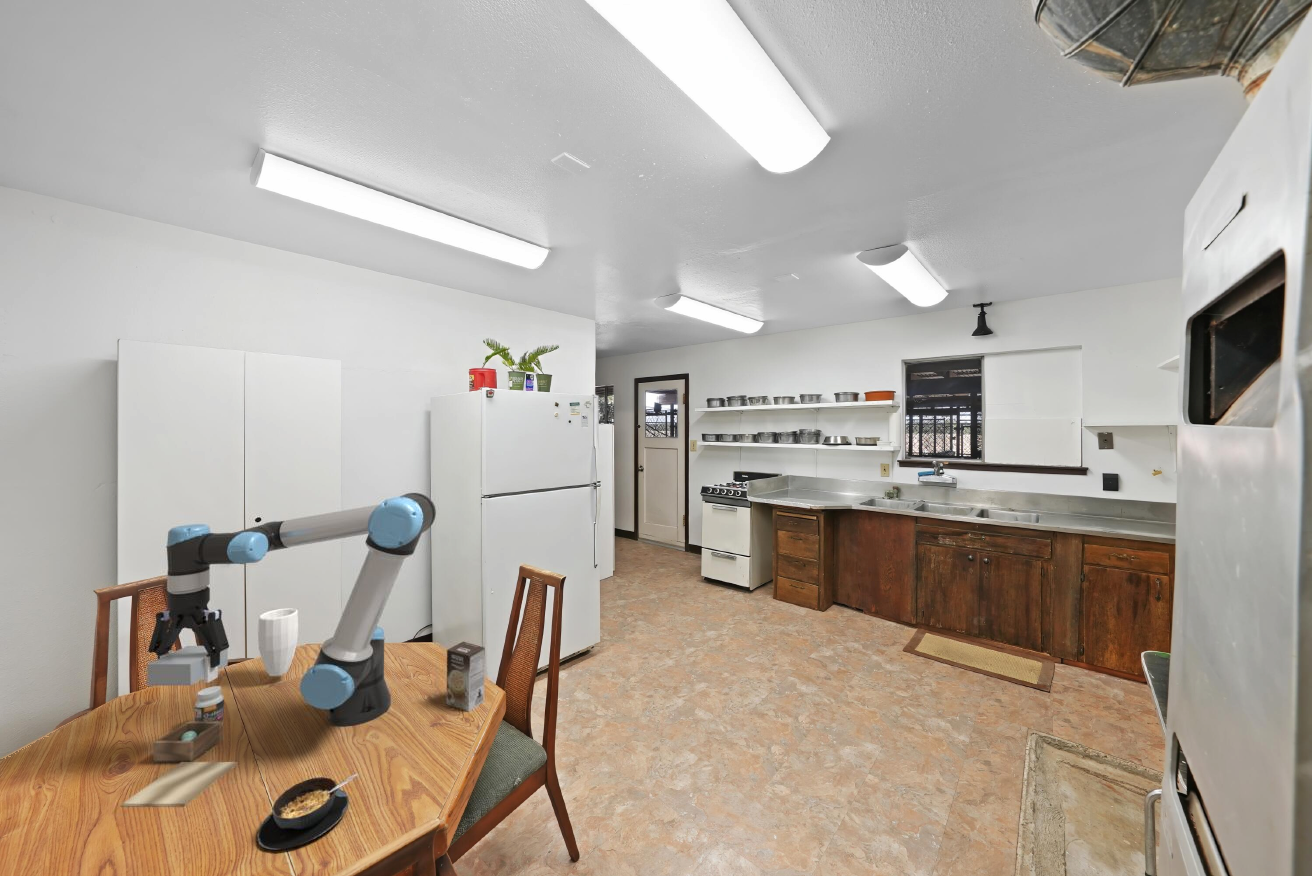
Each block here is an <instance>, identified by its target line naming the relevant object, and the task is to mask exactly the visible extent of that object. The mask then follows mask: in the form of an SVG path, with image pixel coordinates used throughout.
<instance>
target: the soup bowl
mask: <svg viewBox="0 0 1312 876" xmlns="http://www.w3.org/2000/svg"><path fill="white" fill-rule="evenodd" d="M357 776H359V774H358V773H355V774H353V775H351V776H350V777H348V778H347V779H345V780H343V781H342V782H340V783H339V784H337V782H336V781H335V780H333V779H332V778H329V777H323V776H320V777H312V778H308V779H306V780H303V781H300V782H299V783H296V784H294V785H293V786H291V787H290V788H288V789H286V790H285V791H284V792H283V793H282V794H281V795H280V796H278V798H277V799H276V800H275V802H274V804H273V805H272V810H271V813H270V814H268V815H267V817H266V818H265V819H264V820H263V821H262V823H261V824H260V826H259V828H258V831H257V835H256V840H257V843H258V845H259V846H260V847H261V848H263V849H266V850H268V849H269V850H282V849H288V848H289V849H291V848H293V847H297V846H301V845H303V844H306V843H308V842H310V841H312V840H315V839H317V838H318V837H320V836H322V835H324V834H325V833H327V832H328V831H330V830H331V829H332V828H334V826H336V825H337V823H339V821H341V819H342V818H343V817H344V816H345V814H346V812H347V810H348V808H349V803H350V798H349V795H348V793H346V791H345V790H343V789H340V788H342V787H343V786H344V785H346V784H347V783H349V782H351V781H352V780H353V779H355V778H357Z"/></svg>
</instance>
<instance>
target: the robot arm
mask: <svg viewBox="0 0 1312 876" xmlns="http://www.w3.org/2000/svg"><path fill="white" fill-rule="evenodd" d="M436 515H437V510H436V506H435V504H434V502H433V500H432V499H431V498H430V497H428V496H427V495H425V494H423V493H419V492H407V493H405V494H403V495H400V496H394V497H391V498H388V499H385V500H383V501H382V502H381V503H380V504H375V505H368V506H362V507H357V508H351V509H345V510H340V511H333V512H328V513H322V514H321V513H320V514H316V515H309V516H304V517H297V518H292V519H286V520H280V521H279V520H275V521H274V520H273V521H268V522H266V523H263V524H260V525H257V526H253V527H249V528H245V529H243V530H238V531H234V532H221V533H220V532H218V533H217V532H215V533H214V532H211V528H210V526H209V525H208V524H203V523H199V524H197V523H194V524H184V525H179V526H174V527H172V528H170V529H169V530H168V533H167V543H166V546H165V547H166V554H167V556H166V557H167V559H166V560H167V575H166V576H167V584H166V586H167V587H166V591H167V592H169V593H167V598H166V599H167V601H166V604H167V605H166V606H167V609H165V610H162V611H159V612H157V613H156V614H155V622H156V623H155V625H154V629H153V632H152V636H151V639H150V643H149V646H148V649H147V650H148V653H151V654H152V653H154V654H155V655H156V656H157V660H158V659H160V658H162V657H165V656H167V655H169V654H171V653H173V652H175V651H174V648H173V645H175V642H176V641H177V639H178V637H179V635H180V634H181V632H182V631H183V629H188V630H192V632H193V633H196V635H197V637H198V639H199V640H200V642H201V644H202V646H204V647H205V649H206V651H207V653H208V655H206V656H205V678H204V684H208V683H210V682H212V681H214V680H215V679H217V678H218V677H219V676H218V675H219V674H218V672H219V670H218V665H220V652H221V651H223V650H225V649H227V648H230V643H229V640H228V638H227V637H228V636H227V633H226V630H225V627H224V624H223V623H224V622H223V621H222V615H223V614H222V613H223V611H222V609H220V608H219V609H216V610H210V609H209V606H208V604H209V602H210V600H211V588H210V587H209V585H210V584H211V583H210V575H211V574H210V573H211V572H210V565H246V564H251V563H252V564H253V563H257V562H260V561H261V560H263V557H265V556H266V554H267V553H269V552H273V551H278V550H279V551H280V550H284V549H289V548H294V547H299V546H305V545H311V544H315V543H322V542H327V541H328V542H329V541H333V540H339V539H345V538H351V537H356V536H363V535H367V536H366V539H365V545H366V547H367V548H368V551H367V555H366V557H365V559H364V562H363V564H362V565H361V568H360V570H359V574H358V576H357V578H356V580H355V582H354V586H353V587H352V590H351V593H350V595H349V597H348V600H347V602H346V605H345V607H344V610H343V612H342V614H341V617H340V619H339V621H338V624H337V626H336V629H335V631H334V633H333V636H332V637H330V638H328V639H326V640H325V641H324V642H323V643H322V645H321V647H320V650H319V653H318V655H317V657H316V660H315V662H314V663H313V665H312V666H311V667H310V668H309V669H308V670H307V671H306V672H305V673H304V674H303V677H302V678H301V680H300V684H299V685H300V686H299V689H300V694H301V696H302V697H303V698H304V701H305V703H307V704H309V706H312V707H314V708H315V709H316V708H317V709H320V710H328V712H327V713H328V714H327V720H328V722H329V723H330V724H331V725H333V726H335V727H336V726H338V727H351V726H356V725H361V724H364V723H368V722H370V721H373V720H374V719H377V718H379V717H381V716H382V715H383V714H385V713H386V712H387V711H388V710H389V709H390V707H391V706H392V697H391V696H392V695H391V693H390V690H389V687H388V684H387V682H386V680H385V640H386V638H385V631H384V629H383V628H382V627H381V626H378V624H379V622H380V619H381V617H382V615H383V612H384V609H385V607H386V605H387V602H388V600H389V597H390V594H391V592H392V589H393V588H394V585H395V583H396V580H397V578H398V575H399V573H400V572H401V568H402V565H403V563H404V561H405V559H406V558H409V557H411V556H412V555H414V553H415V551H416V548H417V546H418V544H419V541H420V538H421V536H422V534H423V533H425V532H426V531H428V530H429V529H430V528H431V526H433V524H434V522H435V519H436ZM213 647H214V649H213Z"/></svg>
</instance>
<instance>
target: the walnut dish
mask: <svg viewBox="0 0 1312 876" xmlns="http://www.w3.org/2000/svg"><path fill="white" fill-rule="evenodd" d="M188 731H195V732H196V734H197V736H196V737H195V738H193V739H192V740H190V741H180V739H181V736H182V735H183V734H184V733H186V732H188ZM200 733H201V734H200ZM222 741H223V724H222V722H221V721H195V720H194V721H186V722H185V723H183V724H181V725H180V726H179V727H176V728H175V729H173V730H172V731H170V732H168V733H167V734H165V735H164V736H162V737H160V738H159V739H157V740H156V741H154V742H153V747H152V748H153V749H152V750H153V757H152V758H153V764H154V765H155V764H156V765H157V764H160V765H161V764H163V765H164V764H167V765H168V764H173V765H174V764H175V765H178V764H180V763H181V762H196V760H198V759H199V758H200V757H202V756H203V755H204V754H206V753H207V752H209V751H210V750H211V749H213V748H214V747H216V746H217V745H219V744H220V743H221V742H222ZM215 745H216V746H215ZM212 747H213V748H212ZM206 751H207V752H206ZM201 755H202V756H201Z"/></svg>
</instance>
